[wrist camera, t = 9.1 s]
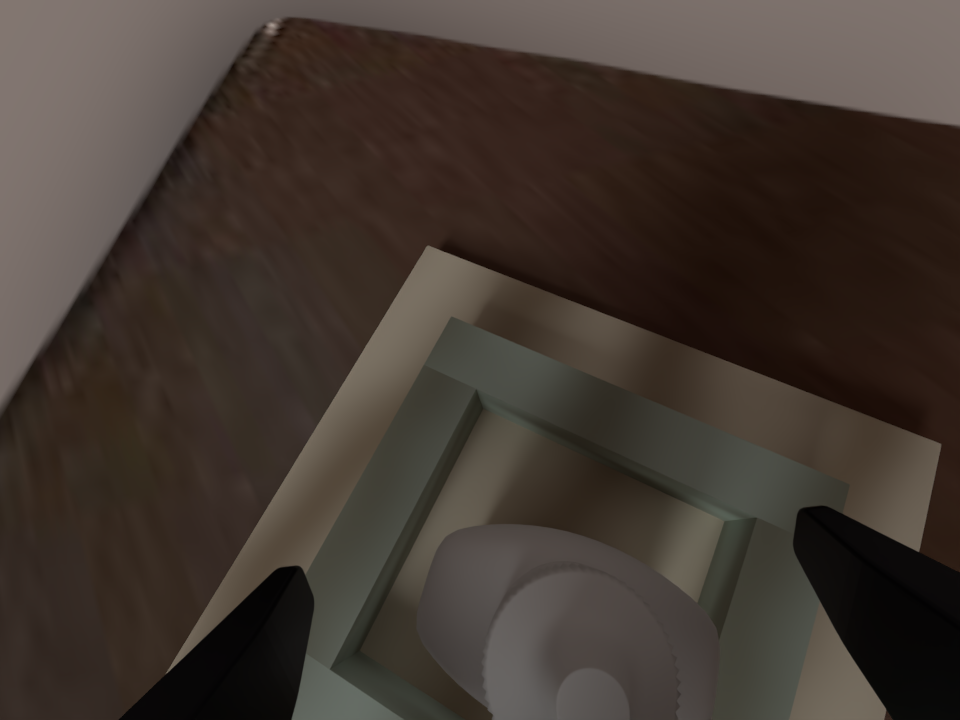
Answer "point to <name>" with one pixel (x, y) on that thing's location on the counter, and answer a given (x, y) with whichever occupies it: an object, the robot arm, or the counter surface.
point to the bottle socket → (569, 492)
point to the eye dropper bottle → (565, 629)
